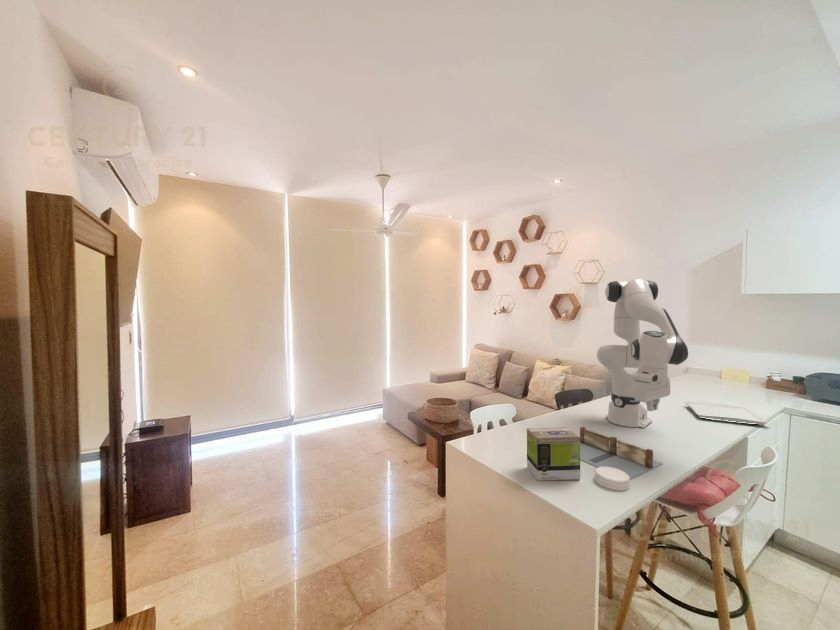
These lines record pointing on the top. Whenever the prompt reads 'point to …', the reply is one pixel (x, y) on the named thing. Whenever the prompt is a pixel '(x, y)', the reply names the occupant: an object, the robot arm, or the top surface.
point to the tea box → (553, 453)
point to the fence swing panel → (635, 453)
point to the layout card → (612, 460)
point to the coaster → (612, 478)
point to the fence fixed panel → (598, 440)
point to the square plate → (760, 420)
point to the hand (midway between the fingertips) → (652, 410)
